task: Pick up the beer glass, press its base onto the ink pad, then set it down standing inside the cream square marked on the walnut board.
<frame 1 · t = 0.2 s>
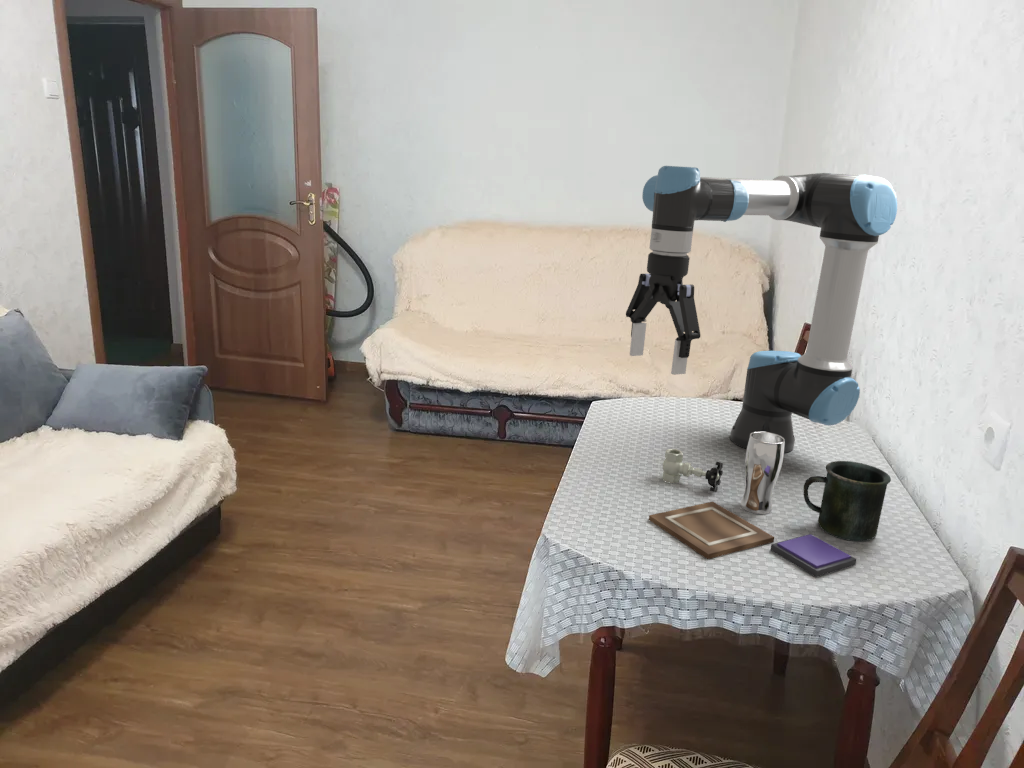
hand: (656, 364, 148), 28 cm above the table, fingers open, 13 cm apart
mug: (836, 529, 147), on the table
valve: (688, 485, 164), on the table
board: (709, 530, 143), on the table
beer glass: (755, 508, 154), on the table
ink pad: (812, 557, 136), on the table
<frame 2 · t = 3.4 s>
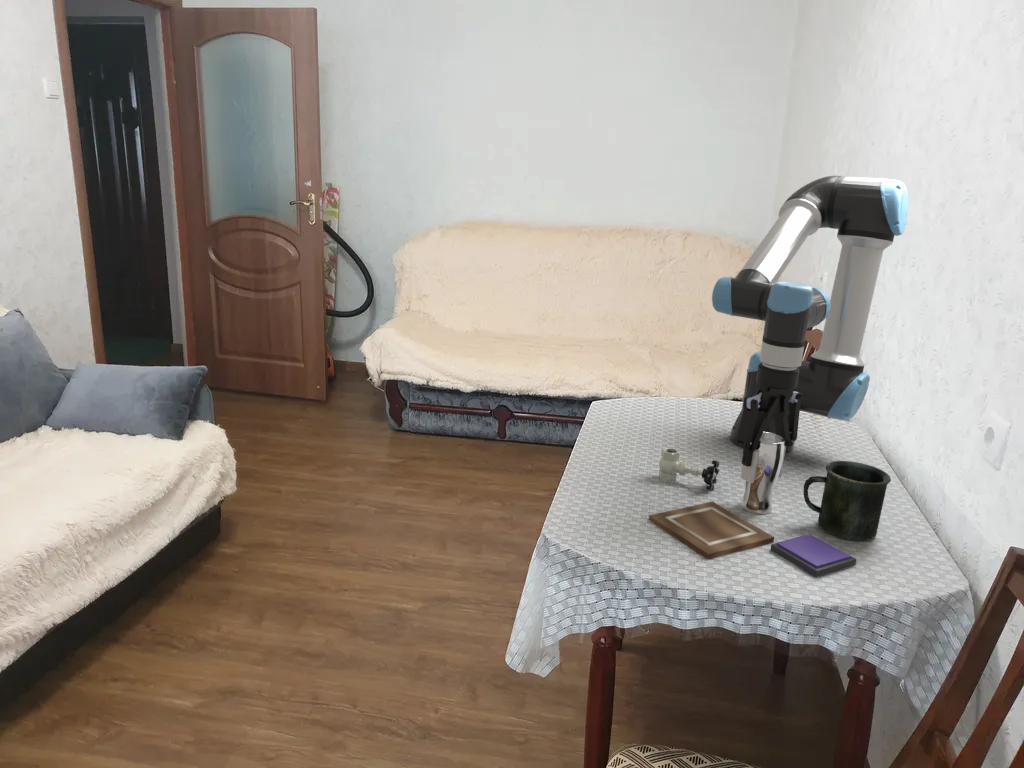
hand: (760, 477, 152), 7 cm above the table, fingers closed on beer glass, 7 cm apart
beer glass: (755, 508, 154), on the table, touching gripper
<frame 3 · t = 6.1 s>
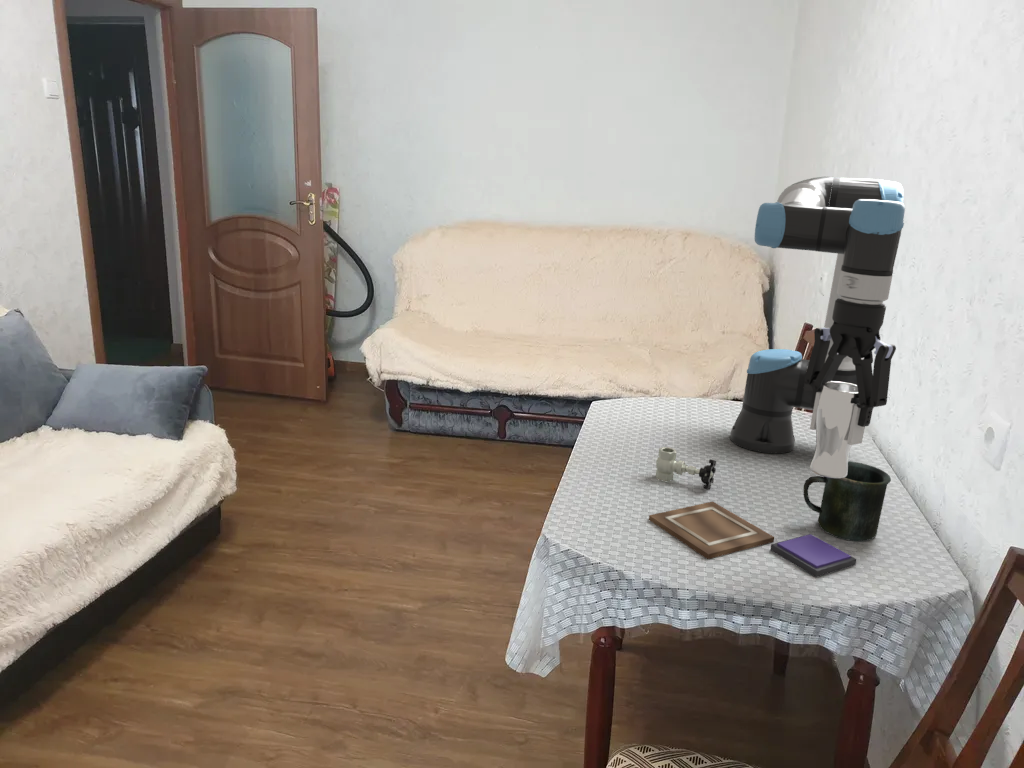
hand: (835, 435, 129), 23 cm above the table, fingers closed on beer glass, 7 cm apart
beer glass: (828, 472, 131), point 16 cm above the table, touching gripper
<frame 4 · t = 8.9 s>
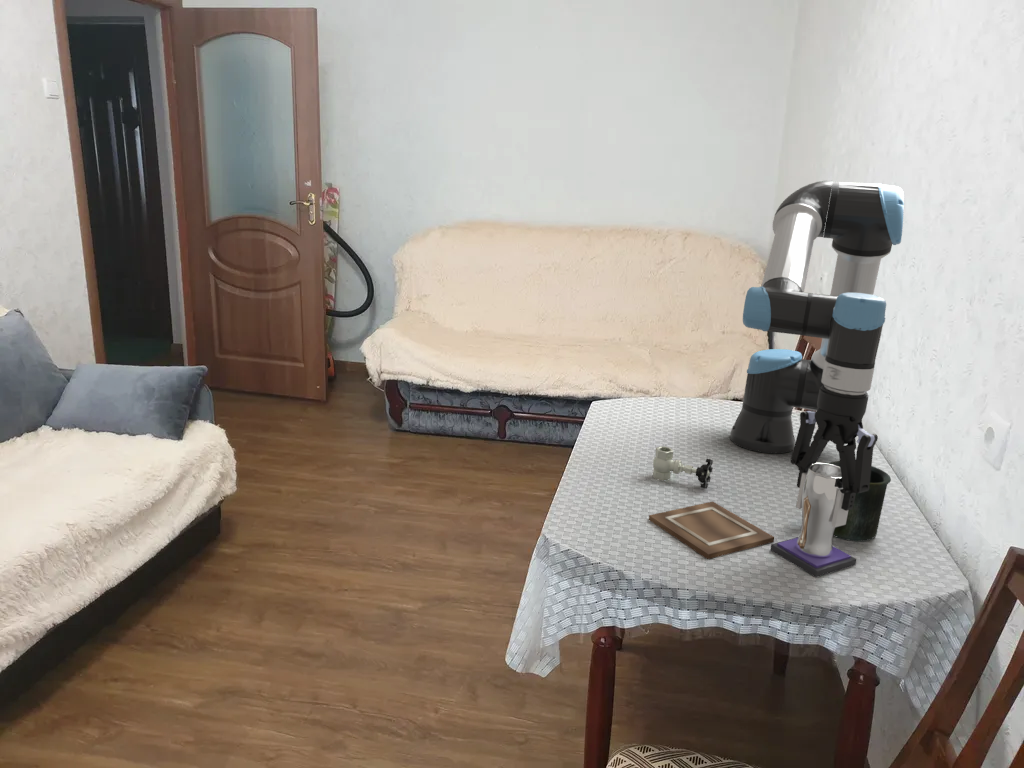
hand: (820, 515, 133), 8 cm above the table, fingers closed on beer glass, 7 cm apart
beer glass: (813, 550, 135), point 1 cm above the table, touching gripper, ink pad
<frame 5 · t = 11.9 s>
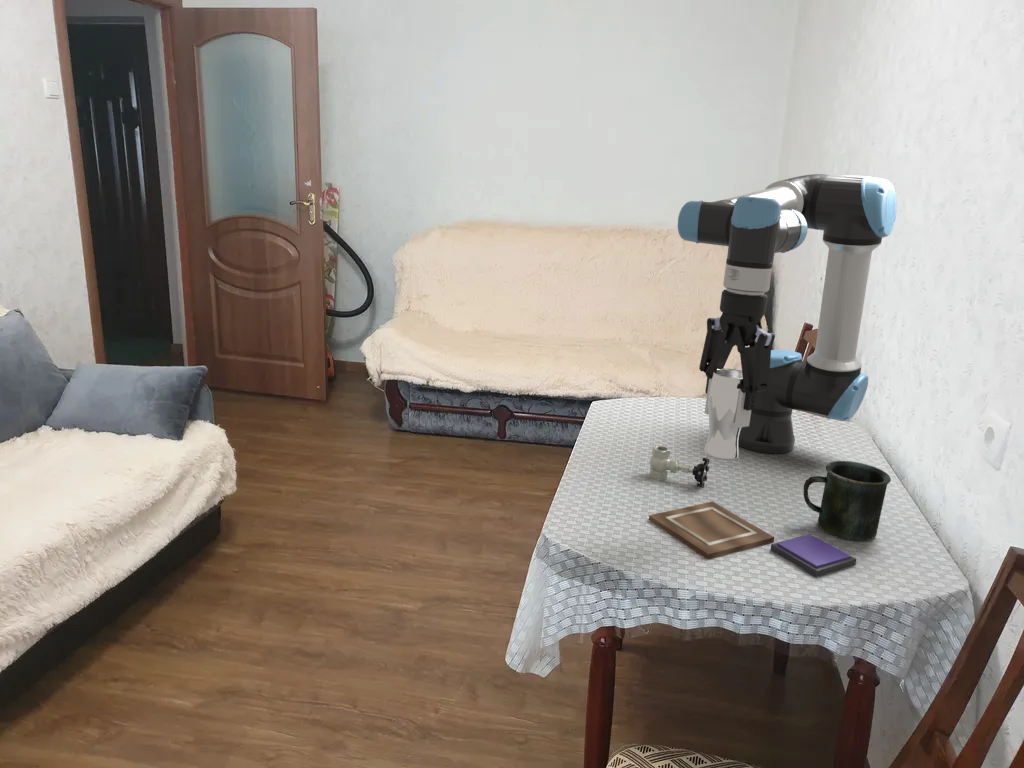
hand: (726, 419, 137), 22 cm above the table, fingers closed on beer glass, 7 cm apart
beer glass: (720, 454, 139), point 15 cm above the table, touching gripper
when the fingers open (9 cm above the table, at t = 14.5 s): beer glass drops 1 cm, resting on board.
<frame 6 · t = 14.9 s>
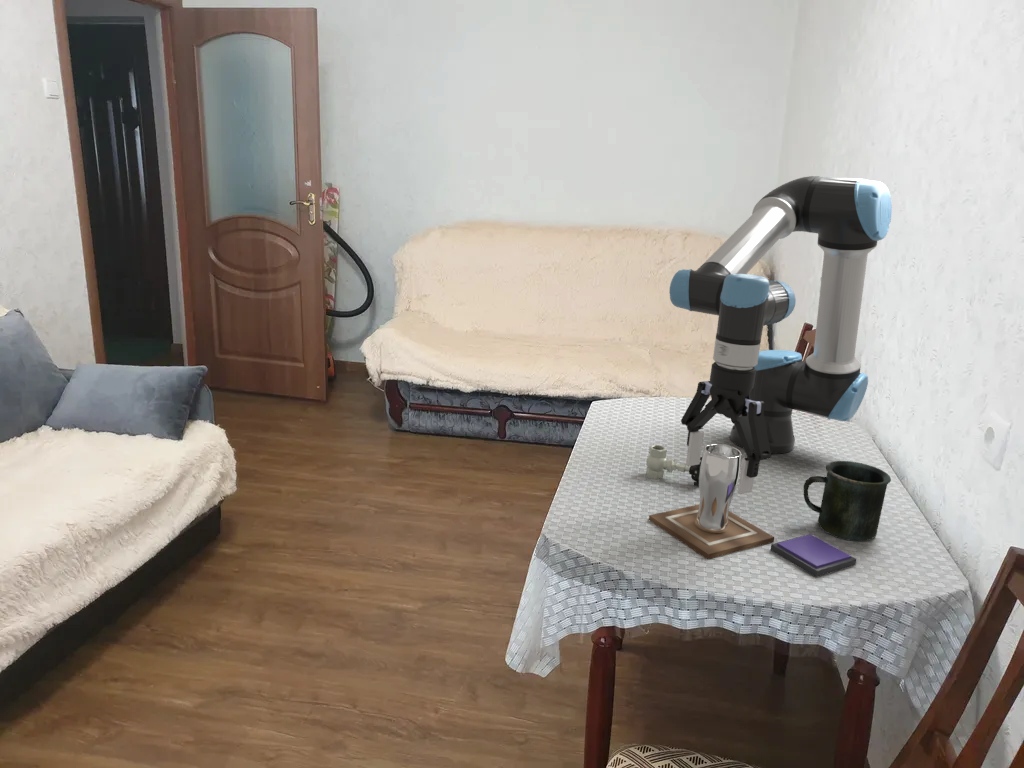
hand: (717, 478, 140), 11 cm above the table, fingers open, 13 cm apart
beer glass: (711, 526, 143), point 1 cm above the table, touching board
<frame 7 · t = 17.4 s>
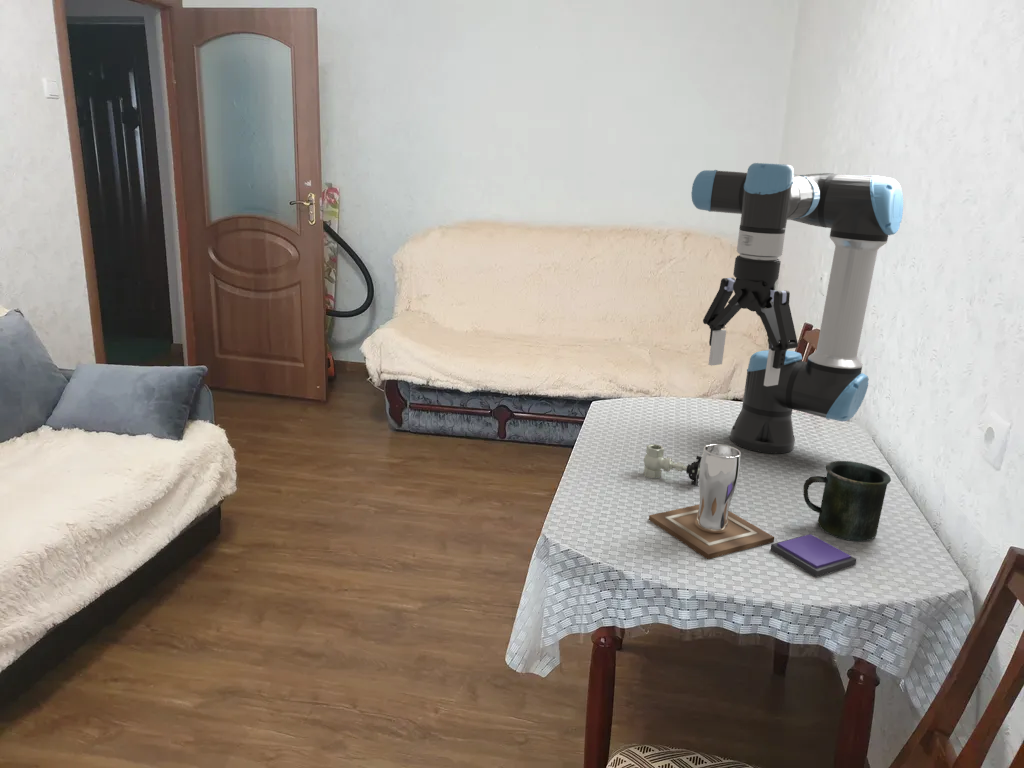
hand: (741, 374, 139), 29 cm above the table, fingers open, 13 cm apart
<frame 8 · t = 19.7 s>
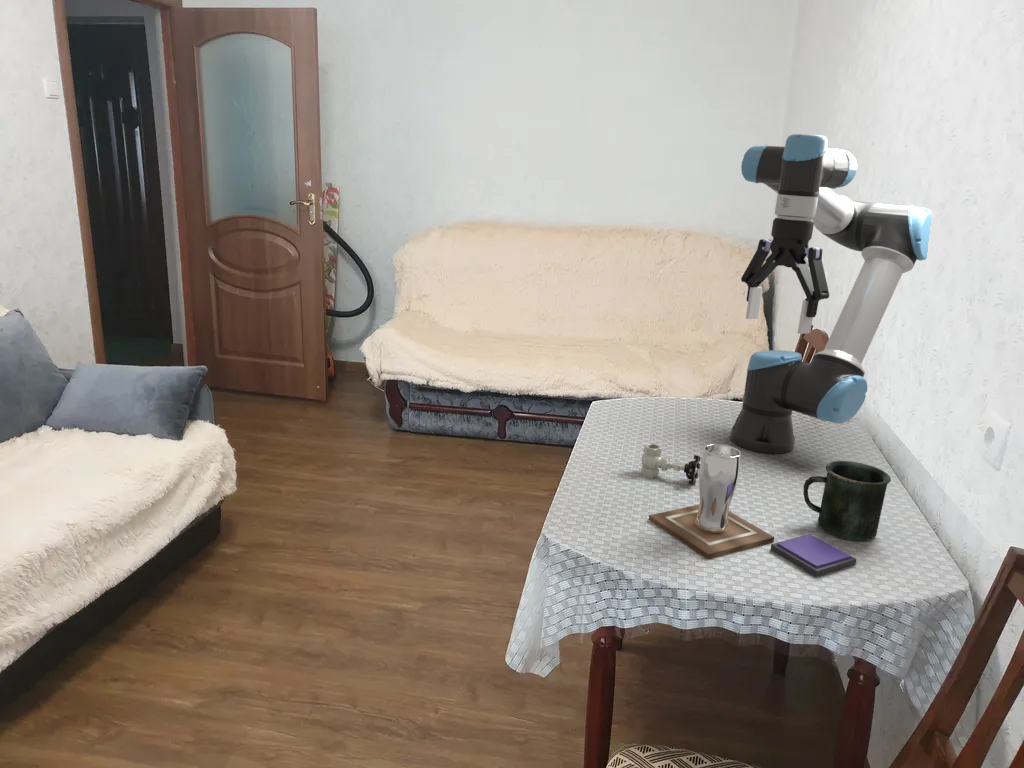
hand: (776, 325, 156), 35 cm above the table, fingers open, 13 cm apart
at the end: beer glass inside the target area on the board (0.1 cm from its centre), point 0.8 cm above the board's base; beer glass tilted 0°; the gripper is holding nothing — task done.
